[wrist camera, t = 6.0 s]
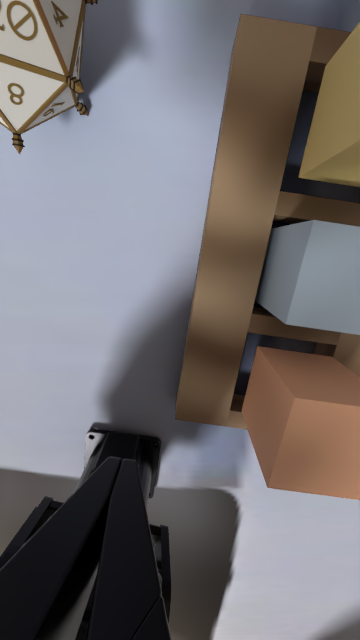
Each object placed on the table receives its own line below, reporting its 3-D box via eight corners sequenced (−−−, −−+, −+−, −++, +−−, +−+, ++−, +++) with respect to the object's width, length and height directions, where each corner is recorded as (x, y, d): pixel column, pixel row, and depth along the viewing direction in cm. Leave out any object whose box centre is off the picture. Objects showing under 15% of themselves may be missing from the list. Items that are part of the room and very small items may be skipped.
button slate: (321, 310, 19) (381, 338, 13) (254, 300, 19) (285, 324, 13) (343, 239, 18) (421, 236, 12) (271, 228, 17) (313, 219, 12)
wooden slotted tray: (338, 423, 22) (356, 444, 20) (176, 401, 22) (174, 419, 19) (462, 87, 15) (510, 59, 13) (232, 49, 15) (240, 13, 13)
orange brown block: (310, 420, 18) (368, 501, 13) (241, 411, 18) (267, 487, 12) (332, 356, 17) (407, 413, 11) (257, 346, 17) (294, 397, 11)
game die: (88, 88, 19) (147, -99, 11) (69, 197, 18) (117, 90, 10) (-78, -16, 14) (-210, -507, 6) (-113, 127, 13) (-324, -200, 5)
